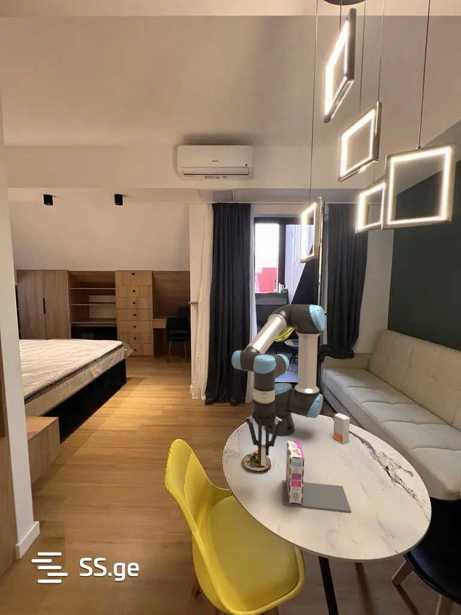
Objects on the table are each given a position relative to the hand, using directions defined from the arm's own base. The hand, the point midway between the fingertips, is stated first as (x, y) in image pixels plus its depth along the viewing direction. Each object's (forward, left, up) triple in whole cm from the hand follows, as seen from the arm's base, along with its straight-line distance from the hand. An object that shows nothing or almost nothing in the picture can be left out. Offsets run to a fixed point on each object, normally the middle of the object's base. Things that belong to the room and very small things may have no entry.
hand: (263, 463), depth 105 cm
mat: (0, +18, -10) cm, 21 cm away
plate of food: (-15, -3, -11) cm, 19 cm away
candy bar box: (0, +11, -10) cm, 15 cm away
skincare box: (-40, +36, -11) cm, 55 cm away
